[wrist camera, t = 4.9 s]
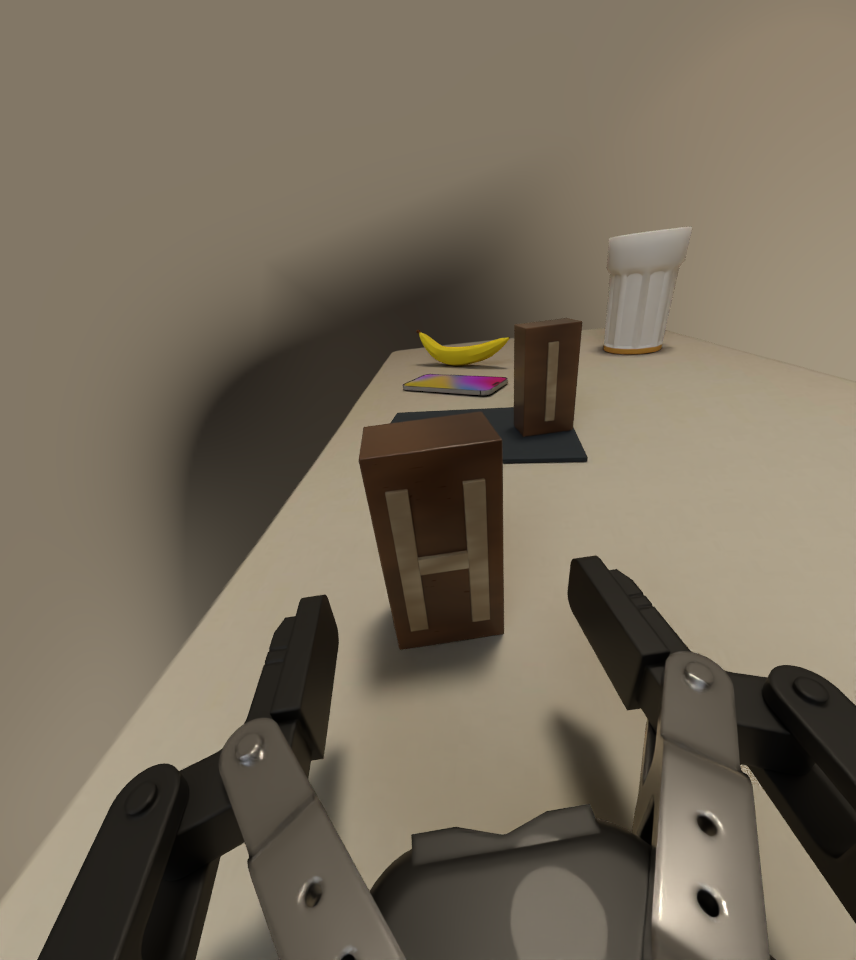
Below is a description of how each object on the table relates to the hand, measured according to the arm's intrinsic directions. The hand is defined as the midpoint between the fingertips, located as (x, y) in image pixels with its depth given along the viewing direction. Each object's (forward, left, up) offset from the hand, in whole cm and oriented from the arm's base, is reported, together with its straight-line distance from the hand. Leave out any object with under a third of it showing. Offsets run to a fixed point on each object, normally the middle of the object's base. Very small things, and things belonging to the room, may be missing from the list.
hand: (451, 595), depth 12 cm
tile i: (+6, +28, -6) cm, 29 cm away
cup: (+25, +65, -6) cm, 70 cm away
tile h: (-1, +4, -6) cm, 7 cm away
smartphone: (-5, +47, -6) cm, 48 cm away
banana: (-5, +61, -6) cm, 62 cm away
